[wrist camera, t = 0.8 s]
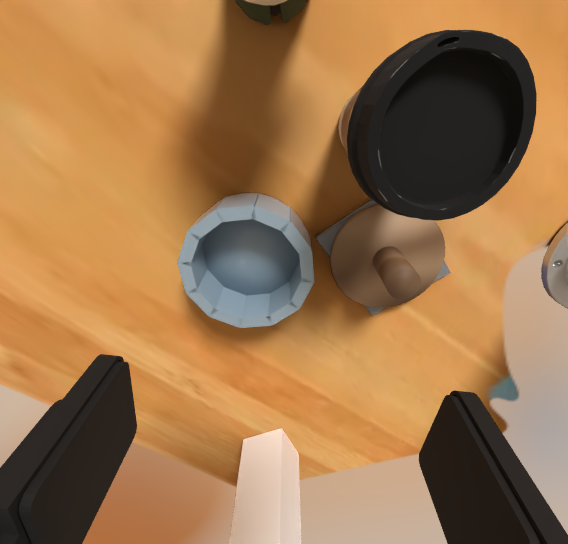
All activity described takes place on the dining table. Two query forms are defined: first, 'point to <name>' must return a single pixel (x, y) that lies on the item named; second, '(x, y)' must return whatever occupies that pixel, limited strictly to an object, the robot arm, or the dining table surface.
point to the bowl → (247, 261)
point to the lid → (386, 257)
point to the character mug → (271, 9)
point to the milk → (267, 492)
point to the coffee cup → (441, 124)
